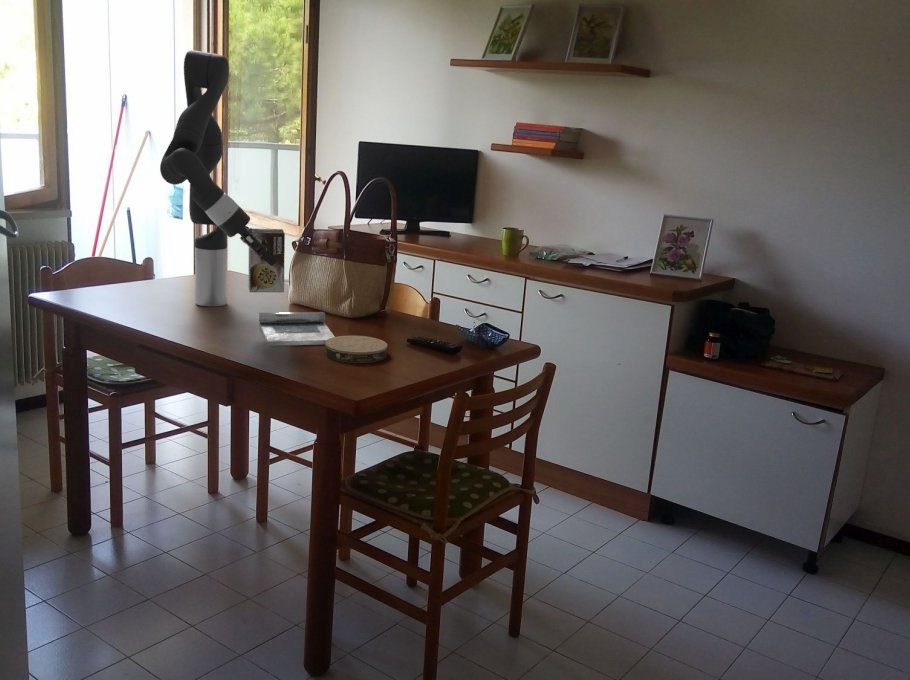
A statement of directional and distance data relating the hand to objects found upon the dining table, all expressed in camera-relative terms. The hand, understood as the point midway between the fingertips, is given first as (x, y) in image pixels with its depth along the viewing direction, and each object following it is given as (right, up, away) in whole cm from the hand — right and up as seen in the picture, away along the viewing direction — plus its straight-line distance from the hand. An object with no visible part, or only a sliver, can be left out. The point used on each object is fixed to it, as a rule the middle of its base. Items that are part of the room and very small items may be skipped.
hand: (272, 260), depth 221 cm
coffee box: (-2, -8, +2) cm, 8 cm away
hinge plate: (+5, -20, +5) cm, 21 cm away
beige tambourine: (+23, -25, -8) cm, 35 cm away
